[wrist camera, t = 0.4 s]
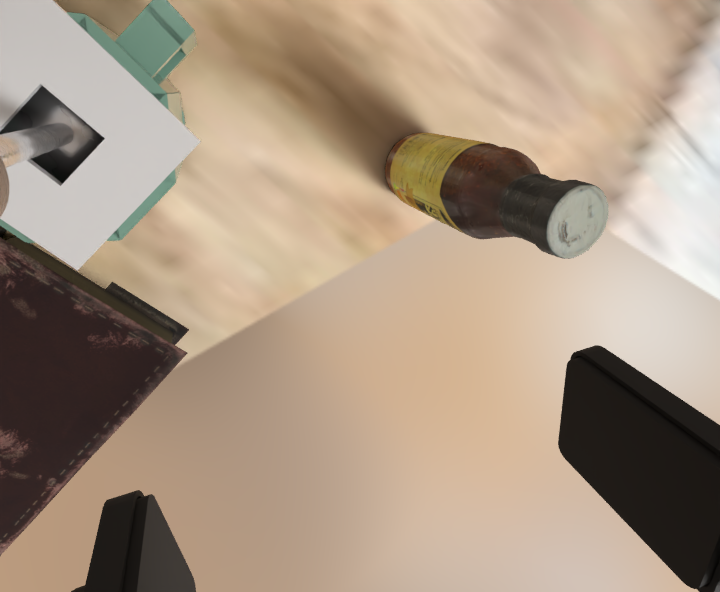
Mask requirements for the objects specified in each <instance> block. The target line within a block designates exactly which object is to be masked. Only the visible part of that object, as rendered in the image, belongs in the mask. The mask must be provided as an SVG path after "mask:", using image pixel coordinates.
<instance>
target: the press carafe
mask: <svg viewBox="0 0 720 592" xmlns="http://www.w3.org/2000/svg"><path fill="white" fill-rule="evenodd" d="M196 46H197V41H196V35H195V30H194V29H193V28H192V27H191V26H190V25H189V24H188V23H187V22H186V21H185V19H184V18H183V17H182V16H181V15H180V14H179V13H178V12H177V11H176V10H175V9H174V7H173V6H172V5H171V4H170V3H169V2H168V1H167V0H152V1H151V2H150V3H149V5H148V6H147V7H146V8H145V9H144V10H143V11H142V12H141V13H140V14H139V15H138V17H137V18H136V19H135V20H134V21H133V22H132V23H131V24H130V25H129V26H128V27H127V28H126V30H125V31H124V32H123V33H122V34H121V35H120V36H119V35H117V34H116V33H114V32H112V31H111V30H109V29H108V28H106V27H105V26H103V25H102V24H100V23H98V22H97V21H95V20H94V19H92V18H91V17H89V16H88V15H86V14H81V13H71V12H66V11H65V10H64V9H63V8H62V7H60V6H59V5H58V4H57V3H56V2H55V1H54V0H0V131H1V130H2V129H3V128H4V127H5V126H6V125H7V124H8V123H9V122H10V120H11V119H12V118H13V117H14V116H15V115H16V114H17V113H18V112H19V111H20V109H21V108H22V107H23V106H24V105H25V104H26V103H27V102H28V101H29V100H30V98H31V97H32V96H33V95H34V94H35V93H36V92H37V91H38V90H39V89H40V87H41V86H44V87H45V88H46V89H47V90H48V91H49V92H51V93H52V94H53V95H54V96H55V97H57V98H58V99H59V100H60V101H61V102H62V103H64V104H65V105H66V106H67V107H68V108H70V109H71V110H72V111H73V112H74V113H75V114H77V115H78V116H79V117H80V118H81V119H82V120H84V121H85V122H86V123H87V124H88V125H90V126H91V127H92V128H93V129H94V130H95V131H97V132H98V133H99V134H100V135H101V136H103V137H104V138H105V139H104V140H103V141H102V142H101V143H100V144H99V145H98V147H97V148H96V149H95V150H94V151H93V152H92V153H91V154H90V155H89V156H88V157H87V158H86V159H85V160H84V162H83V163H82V164H81V165H80V166H79V167H78V168H77V169H76V170H75V171H74V172H73V173H72V174H71V175H70V177H69V178H68V179H67V180H66V181H65V182H64V183H61V182H60V181H59V180H58V179H56V178H55V177H54V176H52V175H51V174H50V173H48V172H47V171H46V170H44V169H43V168H42V167H40V166H39V165H38V164H36V163H35V162H34V161H32V160H31V159H28V160H26V161H23V162H21V163H18V164H15V165H13V166H10V167H8V168H6V170H7V174H8V179H9V199H8V203H7V206H6V209H5V211H4V212H3V214H2V216H1V217H0V226H2V227H3V228H5V229H6V230H8V231H9V232H11V233H12V234H14V235H15V236H17V237H18V238H20V239H21V240H23V241H24V242H27V243H37V244H39V245H40V246H42V247H43V248H45V249H46V250H48V251H49V252H51V253H52V254H54V255H55V256H57V257H58V258H59V259H61V260H62V261H64V262H65V263H67V264H68V265H70V266H71V267H73V268H74V269H76V270H77V271H78V269H79V268H80V267H81V266H82V265H83V264H84V263H85V262H86V261H87V260H88V259H89V258H90V257H91V256H92V255H93V254H94V253H95V252H96V251H97V250H98V249H99V248H100V246H101V245H102V244H103V243H104V242H105V241H116V240H122V239H123V238H124V236H125V235H126V234H127V233H128V232H129V231H130V230H131V229H132V228H133V227H134V226H135V225H136V224H137V223H138V222H139V221H140V220H141V219H142V218H143V217H144V216H145V215H146V214H147V213H148V211H149V210H150V209H151V208H152V207H153V206H154V205H155V204H156V203H157V202H158V201H159V200H160V199H161V198H162V197H163V196H164V195H165V194H166V193H167V192H168V191H169V190H170V189H171V187H172V186H173V185H174V184H175V183H176V181H177V178H178V175H179V172H180V168H181V165H182V162H183V160H184V159H185V158H186V156H187V155H188V154H189V153H190V152H191V151H192V150H193V149H194V148H195V147H196V146H197V145H198V144H199V143H200V142H201V140H200V139H199V138H198V137H197V136H196V135H195V134H194V133H193V132H192V131H191V130H190V129H188V128H187V127H186V126H185V117H184V112H183V108H182V103H181V93H180V92H179V91H178V90H177V89H176V88H175V87H174V86H173V85H172V84H171V83H170V81H169V80H168V79H167V77H168V76H169V75H170V74H171V73H172V72H173V71H174V69H175V68H176V67H177V66H178V65H179V64H180V63H181V62H182V61H183V60H184V59H185V58H186V57H187V56H188V55H189V53H190V52H191V51H192V50H193V49H194V48H195V47H196Z"/></svg>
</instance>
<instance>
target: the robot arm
mask: <svg viewBox="0 0 720 592" xmlns="http://www.w3.org/2000/svg"><path fill="white" fill-rule="evenodd" d="M558 445H559V449H560V452H561V453H562V455H563V457H564V458H565V459H566V460H567V461H568V462H569V463H570V464H571V465H572V466H573V468H574V469H575V470H576V471H577V472H578V473H579V474H580V475H581V476H582V477H583V478H584V479H585V480H586V481H587V482H588V483H589V484H590V485H591V486H592V487H593V488H594V489H595V490H596V492H597V493H598V494H599V495H600V496H601V497H602V498H603V499H604V500H605V501H606V502H607V503H608V504H609V505H610V506H611V507H612V508H613V509H614V510H615V511H616V513H618V515H619V516H620V517H621V518H622V519H623V520H624V521H625V522H626V523H627V524H628V525H629V526H630V527H631V528H632V529H633V530H634V531H635V532H636V533H637V534H638V535H639V536H640V538H641V539H642V540H643V541H644V542H645V543H646V544H647V545H648V546H649V547H650V548H651V549H652V550H653V551H654V552H655V553H656V554H657V555H658V556H659V557H660V559H662V561H663V562H664V563H665V564H666V565H667V566H668V567H669V568H670V569H671V570H672V571H673V572H674V573H675V574H676V575H677V576H678V577H679V578H680V579H681V580H682V581H683V582H684V583H685V584H686V585H687V586H689V587H691V588H694V589H698V591H699V592H720V425H719V424H717V423H716V422H714V421H712V420H711V419H710V418H708V417H706V416H705V415H704V414H702V413H701V412H699V411H698V410H696V409H695V408H693V407H692V406H690V405H689V404H687V403H685V402H684V401H683V400H681V399H680V398H678V397H677V396H675V395H674V394H672V393H671V392H669V391H668V390H666V389H665V388H663V387H662V386H660V385H659V384H657V383H656V382H654V381H652V380H651V379H650V378H648V377H647V376H645V375H644V374H642V373H641V372H639V371H638V370H636V369H635V368H633V367H632V366H630V365H629V364H627V363H626V362H625V361H623V360H621V359H620V358H619V357H617V356H616V355H614V354H613V353H611V352H609V351H608V350H606V349H605V348H603V347H601V346H593V347H590V348H586V349H583V350H580V351H577V352H574V353H573V354H572V356H571V360H570V361H569V362H568V363H567V369H566V378H565V387H564V396H563V404H562V414H561V423H560V432H559V441H558ZM71 592H196V588H195V582H194V578H193V576H192V574H191V571H190V570H189V567H188V565H187V563H186V561H185V559H184V557H183V555H182V553H181V551H180V549H179V547H178V545H177V543H176V541H175V538H174V536H173V535H172V532H171V530H170V528H169V526H168V524H167V522H166V520H165V518H164V516H163V514H162V511H161V509H160V507H159V505H158V503H157V501H156V499H155V497H154V496H153V495H152V494H151V495H148V496H144V495H143V493H142V492H141V491H139V490H138V491H134V492H131V493H128V494H125V495H122V496H118V497H116V498H112V499H109V500H107V501H106V502H105V504H104V507H103V510H102V514H101V519H100V523H99V528H98V532H97V536H96V541H95V545H94V549H93V554H92V558H91V563H90V567H89V572H88V576H87V580H86V585H85V586H82V587H79V588H76V589H75V590H73V591H71Z"/></svg>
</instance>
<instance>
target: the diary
mask: <svg viewBox="0 0 720 592" xmlns="http://www.w3.org/2000/svg"><path fill="white" fill-rule="evenodd" d="M6 231H7V230H6V229H5V228H3V227H2V226H0V556H1V554H2V553H3V552H4V551H5V550H6V549H7V548H8V547H9V546H10V545H11V544H12V542H13V541H14V540H15V539H16V538H17V537H18V536H19V535H20V534H21V533H22V532H23V531H24V529H25V528H26V527H27V526H28V525H29V524H30V523H31V522H32V521H33V520H34V519H35V518H36V517H37V515H38V514H39V513H40V512H41V511H42V510H43V509H44V508H45V507H46V506H47V504H48V503H49V502H50V501H51V500H52V499H53V498H54V497H55V496H56V495H57V494H58V493H59V491H60V490H61V489H62V488H63V487H64V486H65V485H66V484H67V483H68V482H69V480H70V479H71V478H72V477H73V476H74V475H75V474H76V473H77V471H78V470H80V468H81V467H82V466H83V465H84V464H85V463H86V462H87V461H88V460H89V458H91V456H92V455H93V454H94V453H95V452H96V451H97V450H98V449H99V448H100V447H101V446H102V445H103V444H104V443H105V442H106V441H107V440H108V439H109V438H110V437H111V435H112V434H113V433H114V432H115V431H116V430H117V429H118V428H119V427H120V426H121V425H122V424H123V423H124V422H125V421H126V420H127V419H128V418H129V416H131V414H132V413H133V412H134V411H135V410H136V409H137V408H138V407H139V406H140V405H141V404H142V403H143V401H144V400H145V399H146V398H147V397H148V396H149V395H150V394H151V392H153V390H154V389H155V388H156V387H157V386H158V385H159V384H160V383H161V381H163V379H164V378H165V377H166V376H167V375H168V374H169V373H170V372H171V371H172V370H173V368H174V367H175V366H176V365H177V364H178V363H179V362H180V361H181V360H182V359H183V357H184V356H185V355H186V354H187V352H185V351H183V350H182V349H180V348H178V347H177V346H175V344H176V343H177V342H178V341H179V340H180V339H181V338H182V337H183V336H184V335H185V334H186V333H187V332H188V330H189V329H187V328H186V327H184V326H183V325H181V324H179V323H178V322H176V321H175V320H173V319H171V318H170V317H168V316H166V315H165V314H163V313H162V312H160V311H158V310H157V309H155V308H154V307H152V306H150V305H149V304H147V303H146V302H144V301H142V300H141V299H139V298H138V297H136V296H134V295H133V294H131V293H130V292H128V291H126V290H125V289H123V288H121V287H120V286H118V285H117V284H115V283H113V282H112V283H111V284H110V285H109V286H108V287H107V288H106V289H103V288H102V287H100V286H98V285H97V284H95V283H94V282H92V281H90V280H89V279H87V278H85V277H84V276H82V275H81V274H79V273H77V272H76V271H74V270H73V269H71V268H69V267H68V266H66V265H64V264H63V263H61V262H60V261H58V260H56V259H55V258H53V257H51V256H50V255H48V254H47V253H45V252H43V251H42V250H40V249H38V248H37V247H35V246H34V245H32V244H30V243H27V242H24V241H23V240H21V239H20V238H18V237H15V238H9V239H8V240H4V239H2V238H1V237H2V236H3V235H4V234H5V232H6Z"/></svg>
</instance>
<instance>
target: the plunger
mask: <svg viewBox="0 0 720 592" xmlns="http://www.w3.org/2000/svg"><path fill="white" fill-rule="evenodd" d="M104 139H105V138H104V137H103V136H101V135H100V134H99V133H98V132H97V131H95V130H94V129H93V128H92V127H91V126H90V125H88V124H87V123H86V122H85V121H84V120H82V119H81V118H80V117H79V116H78V115H77V114H75V113H74V112H73V111H72V110H71V109H70V108H68V107H67V106H66V105H65V104H64V103H62V102H61V101H60V100H59V99H58V98H57V97H55V96H54V95H53V94H52V93H51V92H49V91H48V90H47V89H46V88H45V87H44V86H41V87H40V89H39V90H38V91H37V92H36V93H35V94H34V95H33V96H32V97H31V98H30V100H29V101H28V102H27V103H26V104H25V105H24V106H23V107H22V108H21V109H20V111H19V112H18V113H17V114H16V115H15V116H14V117H13V118H12V119H11V120H10V122H9V123H8V124H7V125H6V126H5V127H4V128H3V129H2V130H1V131H0V217H1V216H2V214H3V212H4V211H5V209H6V206H7V203H8V199H9V179H8V174H7V170H6V168H8V167H10V166H13V165H15V164H18V163H21V162H23V161H26V160H28V159H31V160H32V161H34V162H35V163H36V164H38V165H39V166H40V167H42V168H43V169H44V170H46V171H47V172H48V173H50V174H51V175H52V176H54V177H55V178H56V179H58V180H59V181H60V182H61V183H64V182H65V181H66V180H67V179H68V178H69V177H70V175H71V174H72V173H73V172H74V171H75V170H76V169H77V168H78V167H79V166H80V165H81V164H82V163H83V162H84V160H85V159H86V158H87V157H88V156H89V155H90V154H91V153H92V152H93V151H94V150H95V149H96V148H97V147H98V145H99V144H100V143H101V142H102V141H103V140H104Z"/></svg>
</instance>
